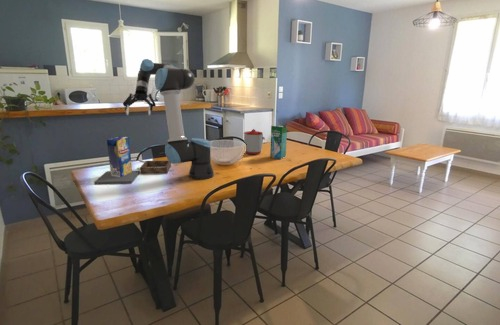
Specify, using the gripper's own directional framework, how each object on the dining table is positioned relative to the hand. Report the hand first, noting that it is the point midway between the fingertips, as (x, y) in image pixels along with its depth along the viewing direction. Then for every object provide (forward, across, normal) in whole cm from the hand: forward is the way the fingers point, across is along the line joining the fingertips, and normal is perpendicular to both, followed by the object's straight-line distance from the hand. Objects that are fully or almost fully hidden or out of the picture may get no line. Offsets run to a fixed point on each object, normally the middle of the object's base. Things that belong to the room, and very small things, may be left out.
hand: (138, 114), depth 189 cm
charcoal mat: (+40, +9, -10) cm, 43 cm away
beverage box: (+37, +8, -12) cm, 40 cm away
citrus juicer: (0, -80, -51) cm, 95 cm away
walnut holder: (+29, -10, -21) cm, 37 cm away
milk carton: (+10, -97, -41) cm, 106 cm away
